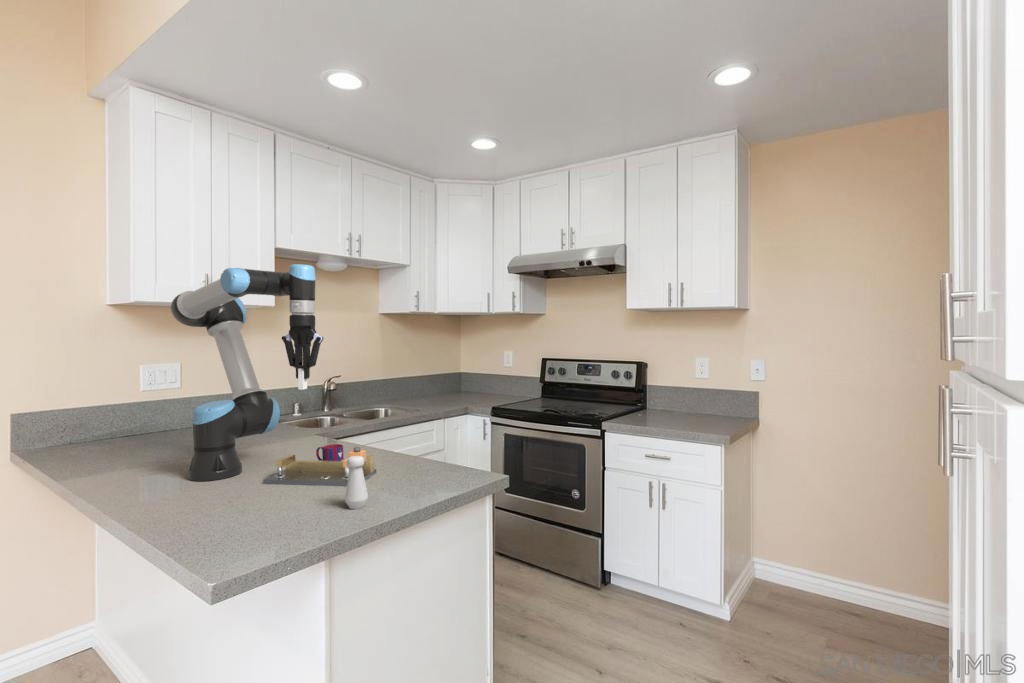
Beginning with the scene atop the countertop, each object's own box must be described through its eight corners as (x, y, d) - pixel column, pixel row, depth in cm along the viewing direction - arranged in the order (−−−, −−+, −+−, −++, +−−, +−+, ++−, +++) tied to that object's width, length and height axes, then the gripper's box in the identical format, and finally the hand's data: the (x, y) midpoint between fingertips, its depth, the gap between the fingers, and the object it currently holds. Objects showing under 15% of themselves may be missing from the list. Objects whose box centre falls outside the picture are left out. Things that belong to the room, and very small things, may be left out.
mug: (333, 469, 169) (332, 449, 169) (311, 466, 173) (310, 446, 173) (348, 464, 175) (347, 445, 175) (326, 462, 179) (325, 442, 179)
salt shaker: (360, 501, 137) (358, 452, 137) (372, 505, 133) (371, 456, 133) (340, 507, 133) (339, 457, 132) (353, 512, 129) (352, 460, 129)
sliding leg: (340, 476, 155) (339, 453, 154) (354, 468, 164) (353, 446, 164) (352, 477, 154) (352, 453, 154) (366, 468, 164) (365, 446, 163)
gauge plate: (263, 483, 155) (263, 479, 154) (289, 470, 168) (289, 466, 168) (357, 486, 150) (357, 481, 150) (376, 472, 164) (376, 468, 164)
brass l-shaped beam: (272, 476, 158) (272, 460, 158) (289, 468, 167) (289, 453, 166) (362, 478, 154) (361, 462, 154) (374, 470, 163) (373, 454, 162)
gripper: (276, 313, 158) (276, 390, 159) (316, 314, 156) (316, 391, 157) (289, 314, 165) (289, 386, 166) (327, 314, 164) (327, 388, 165)
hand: (302, 388), depth 162 cm, fingers closed
